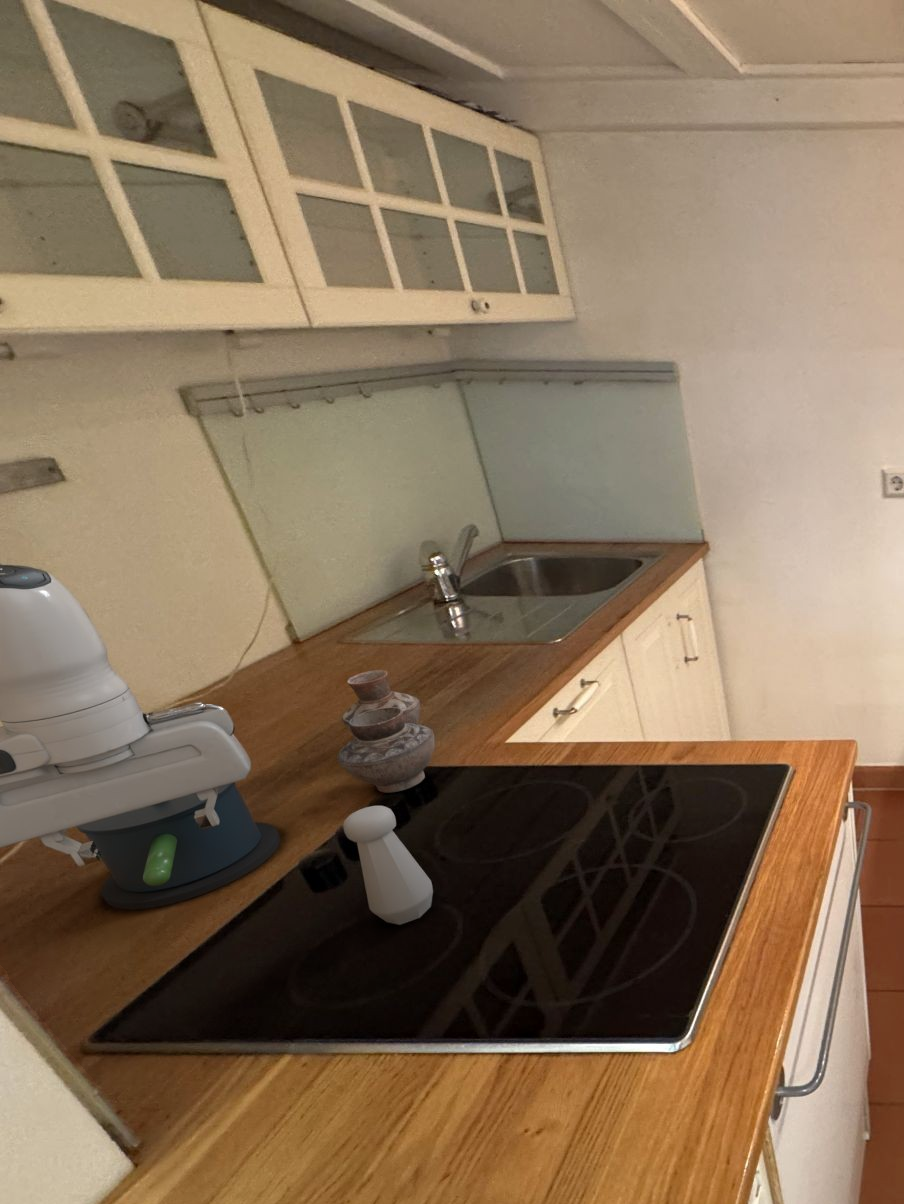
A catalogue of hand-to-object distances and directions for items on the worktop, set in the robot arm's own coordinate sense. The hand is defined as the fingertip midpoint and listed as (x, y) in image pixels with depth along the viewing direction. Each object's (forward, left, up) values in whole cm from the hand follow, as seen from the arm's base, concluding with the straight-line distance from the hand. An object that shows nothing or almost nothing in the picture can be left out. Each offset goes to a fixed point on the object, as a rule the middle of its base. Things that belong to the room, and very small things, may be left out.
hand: (152, 842), depth 82 cm
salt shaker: (+19, -17, -9) cm, 27 cm away
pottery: (+22, +24, -9) cm, 34 cm away
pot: (0, +7, -8) cm, 10 cm away
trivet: (0, +11, -9) cm, 14 cm away
